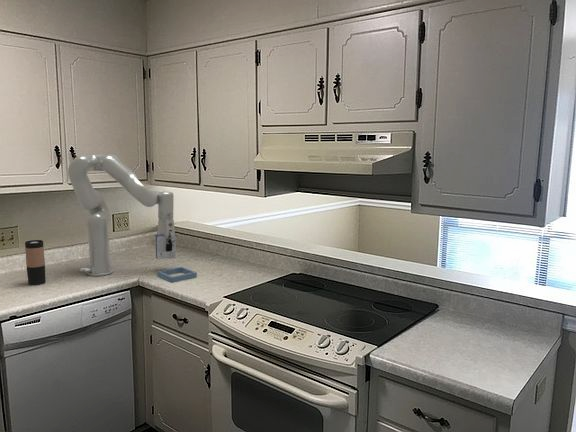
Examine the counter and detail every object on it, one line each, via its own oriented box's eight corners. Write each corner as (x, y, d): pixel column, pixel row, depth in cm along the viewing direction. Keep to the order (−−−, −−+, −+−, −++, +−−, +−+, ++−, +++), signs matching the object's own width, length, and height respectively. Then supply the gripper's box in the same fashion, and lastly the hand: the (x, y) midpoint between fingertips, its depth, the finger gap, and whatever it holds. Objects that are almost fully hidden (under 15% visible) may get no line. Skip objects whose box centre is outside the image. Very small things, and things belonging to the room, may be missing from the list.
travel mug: (26, 282, 220) (23, 241, 217) (44, 279, 225) (41, 239, 222) (29, 286, 214) (26, 244, 211) (48, 283, 219) (45, 241, 216)
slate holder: (171, 282, 223) (171, 277, 223) (157, 276, 234) (157, 271, 233) (196, 277, 233) (196, 272, 233) (182, 271, 243) (182, 266, 243)
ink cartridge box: (174, 255, 247) (174, 229, 245) (176, 258, 242) (176, 231, 240) (155, 256, 243) (155, 229, 241) (156, 259, 238) (157, 232, 236)
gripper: (181, 217, 236) (180, 252, 238) (164, 212, 248) (163, 245, 251) (167, 218, 231) (167, 254, 233) (150, 213, 243) (150, 247, 246)
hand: (165, 249), depth 242 cm, fingers closed on ink cartridge box, 6 cm apart
